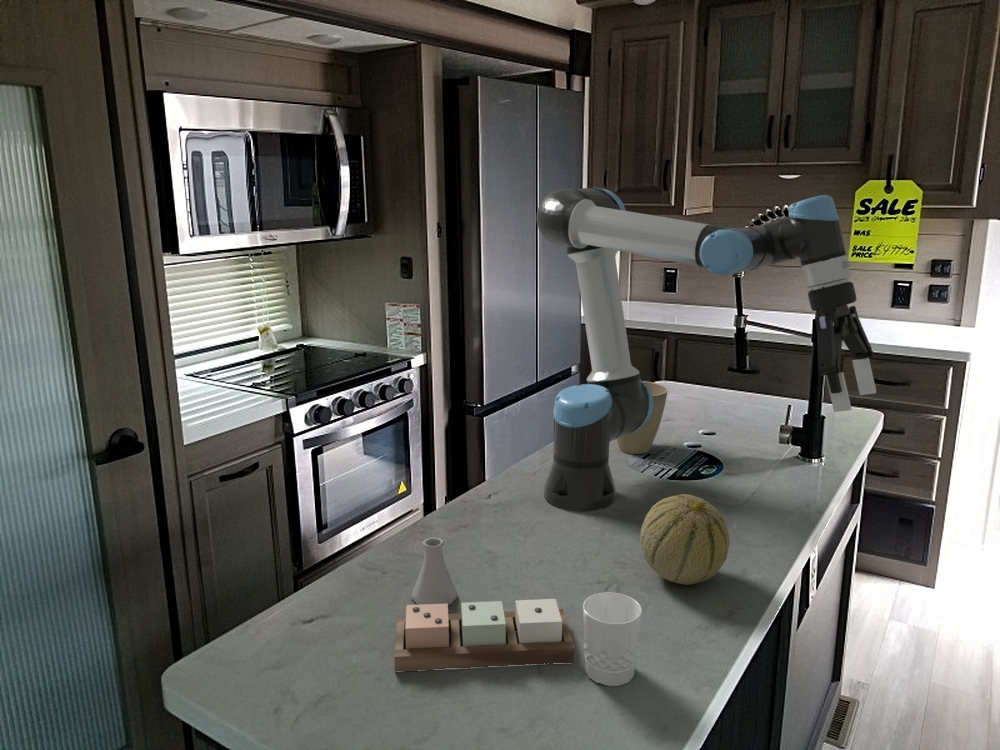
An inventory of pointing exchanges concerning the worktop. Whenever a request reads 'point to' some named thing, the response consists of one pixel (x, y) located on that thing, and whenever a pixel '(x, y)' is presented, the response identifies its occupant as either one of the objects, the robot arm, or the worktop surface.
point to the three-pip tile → (427, 626)
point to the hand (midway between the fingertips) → (856, 402)
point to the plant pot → (646, 424)
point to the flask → (434, 577)
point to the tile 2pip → (483, 623)
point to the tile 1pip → (538, 621)
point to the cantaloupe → (684, 539)
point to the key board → (482, 649)
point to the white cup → (611, 637)
